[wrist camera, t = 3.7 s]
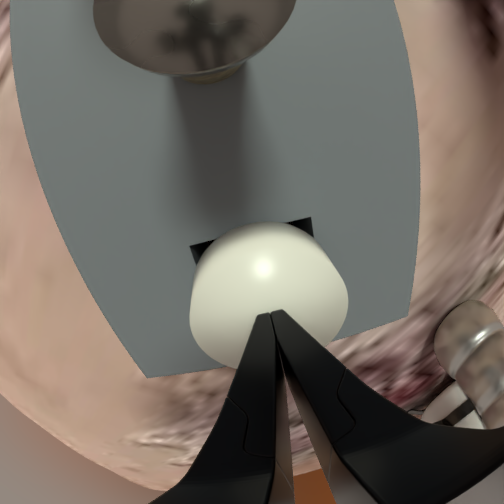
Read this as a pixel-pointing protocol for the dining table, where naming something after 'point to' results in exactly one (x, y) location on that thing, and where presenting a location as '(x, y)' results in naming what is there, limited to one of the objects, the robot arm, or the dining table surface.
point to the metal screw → (190, 34)
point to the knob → (263, 287)
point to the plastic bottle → (475, 357)
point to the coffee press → (452, 409)
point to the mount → (223, 162)
